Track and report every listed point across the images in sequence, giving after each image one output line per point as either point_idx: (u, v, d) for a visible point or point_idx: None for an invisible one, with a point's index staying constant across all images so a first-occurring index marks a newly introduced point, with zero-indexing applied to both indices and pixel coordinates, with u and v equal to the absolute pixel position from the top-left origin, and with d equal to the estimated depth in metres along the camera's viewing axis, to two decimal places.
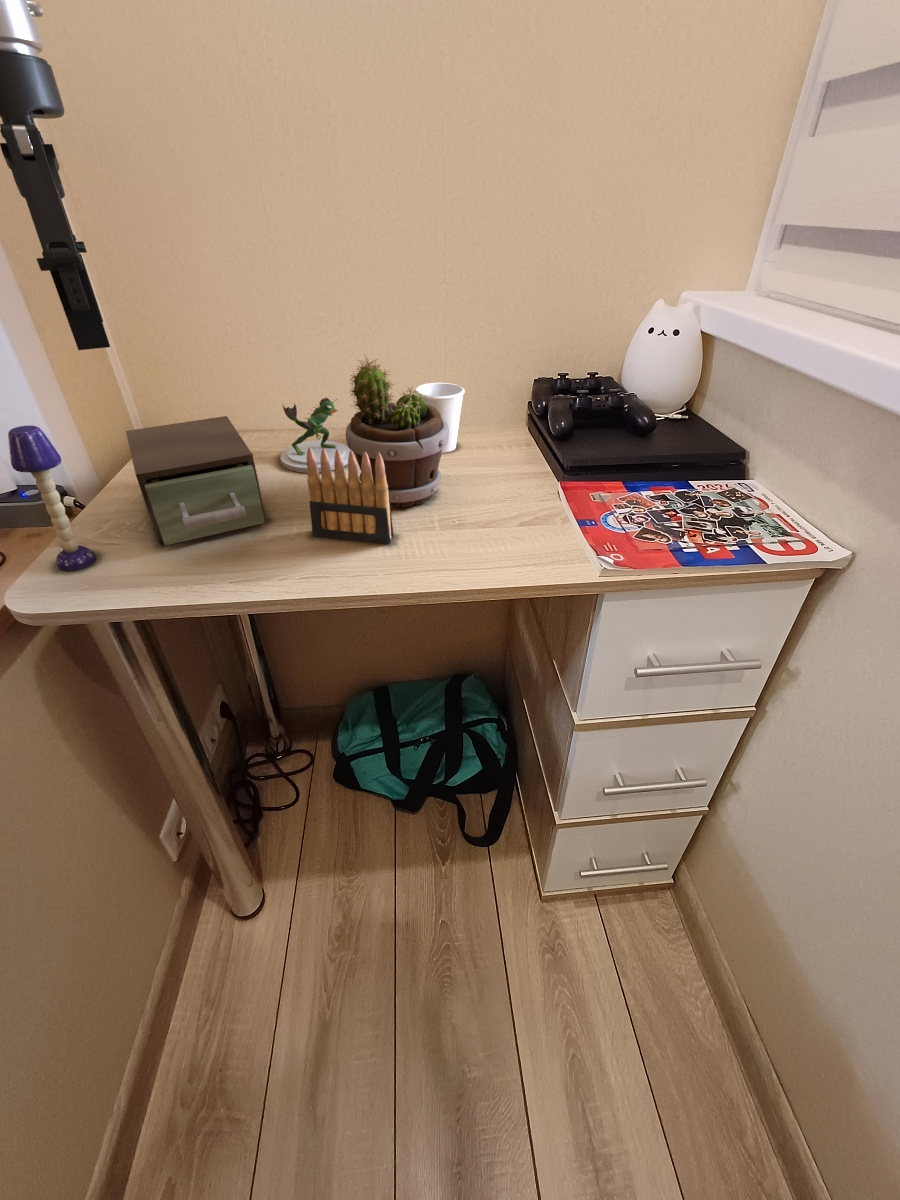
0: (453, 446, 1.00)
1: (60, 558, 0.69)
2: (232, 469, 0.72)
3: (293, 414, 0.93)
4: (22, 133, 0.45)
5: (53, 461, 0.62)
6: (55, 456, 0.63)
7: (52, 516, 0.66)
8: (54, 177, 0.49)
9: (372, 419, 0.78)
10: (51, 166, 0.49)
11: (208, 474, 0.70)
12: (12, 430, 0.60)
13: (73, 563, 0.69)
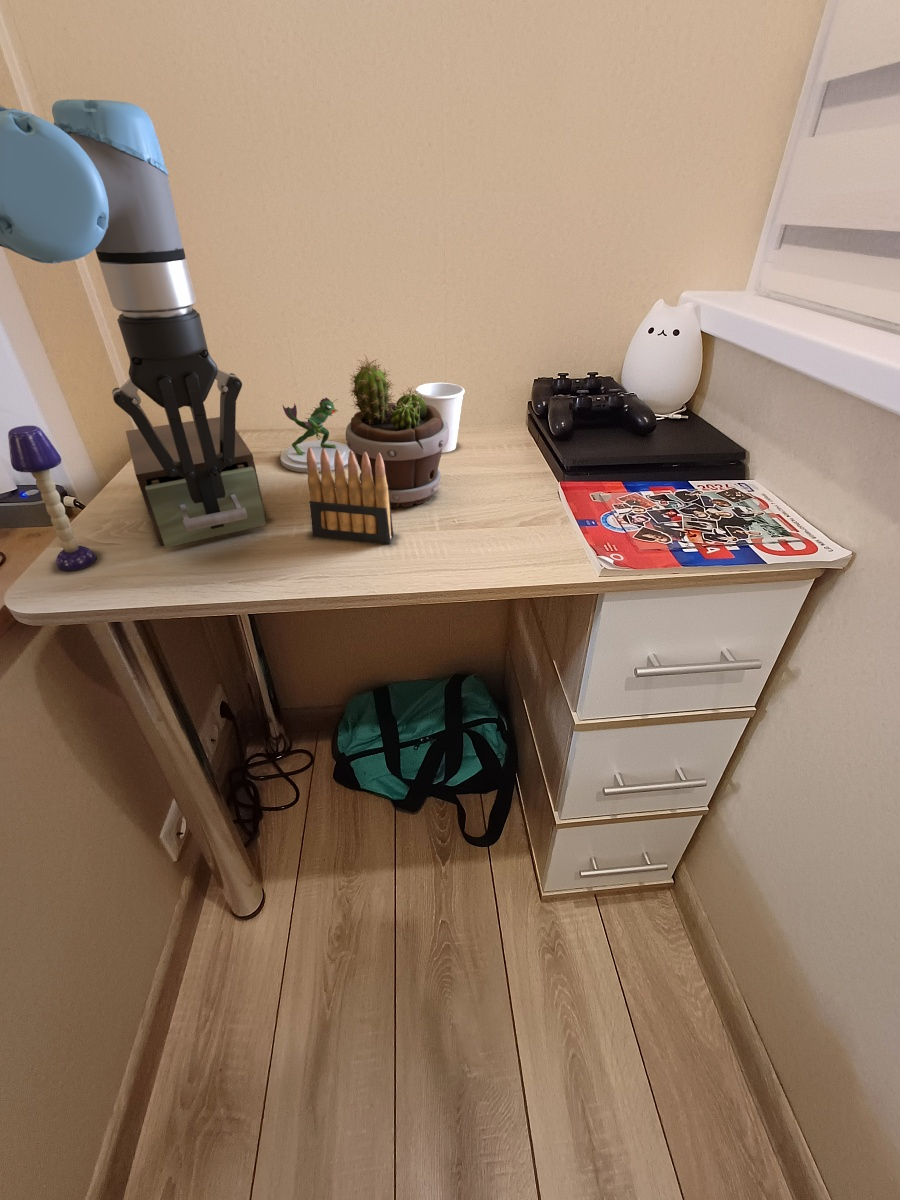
0: (453, 446, 1.00)
1: (60, 558, 0.69)
2: (233, 471, 0.71)
3: (293, 414, 0.93)
4: None
5: (53, 461, 0.62)
6: (55, 456, 0.63)
7: (52, 516, 0.66)
8: None
9: (372, 419, 0.78)
10: None
11: None
12: (12, 430, 0.60)
13: (73, 563, 0.69)
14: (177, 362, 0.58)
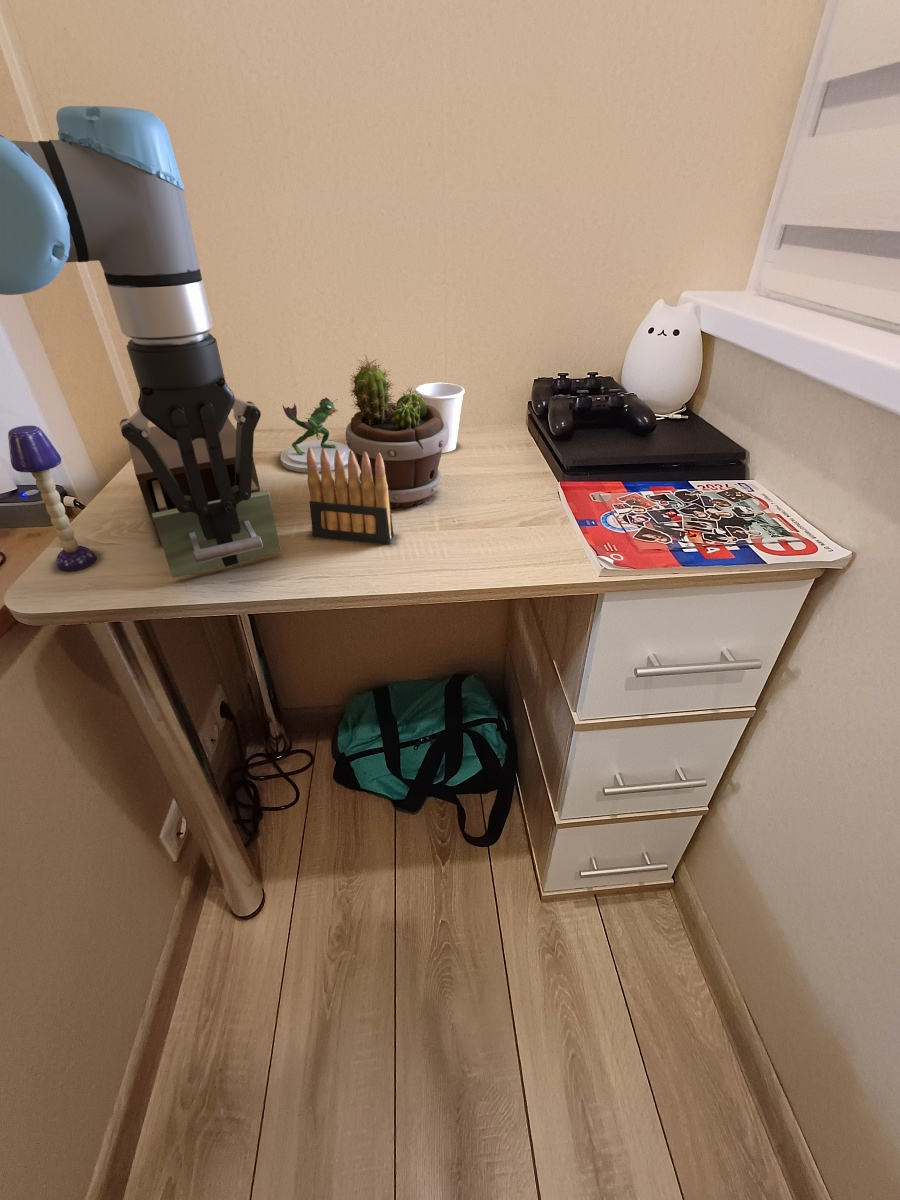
0: (453, 446, 1.00)
1: (60, 558, 0.69)
2: None
3: (293, 414, 0.93)
4: None
5: (53, 461, 0.62)
6: (55, 456, 0.63)
7: (52, 516, 0.66)
8: None
9: (372, 419, 0.78)
10: None
11: None
12: (12, 430, 0.60)
13: (73, 563, 0.69)
14: (191, 392, 0.53)
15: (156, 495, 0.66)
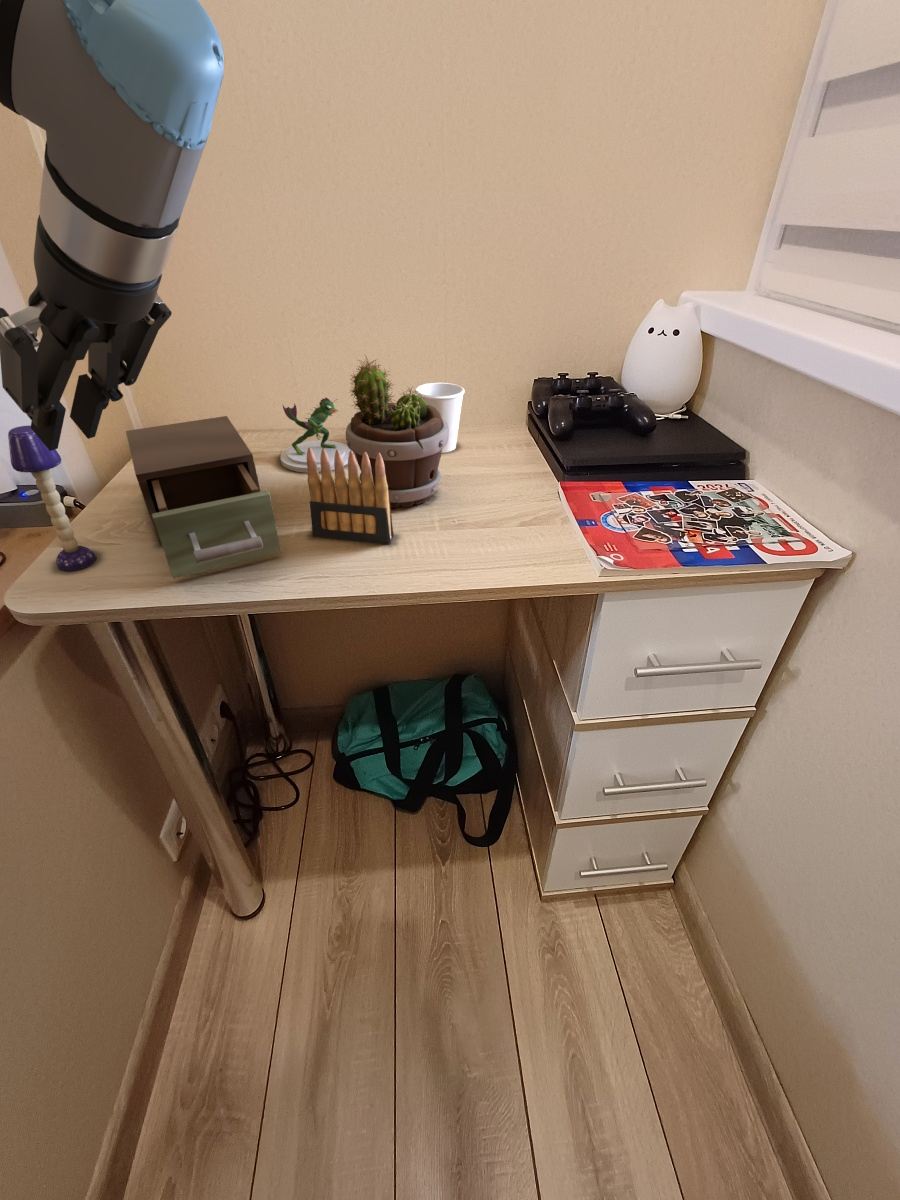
0: (453, 446, 1.00)
1: (60, 558, 0.69)
2: (247, 495, 0.66)
3: (293, 414, 0.93)
4: None
5: (53, 461, 0.62)
6: (55, 456, 0.63)
7: (52, 516, 0.66)
8: None
9: (372, 419, 0.78)
10: None
11: (221, 501, 0.64)
12: (12, 430, 0.60)
13: (73, 563, 0.69)
14: None
15: (156, 495, 0.66)
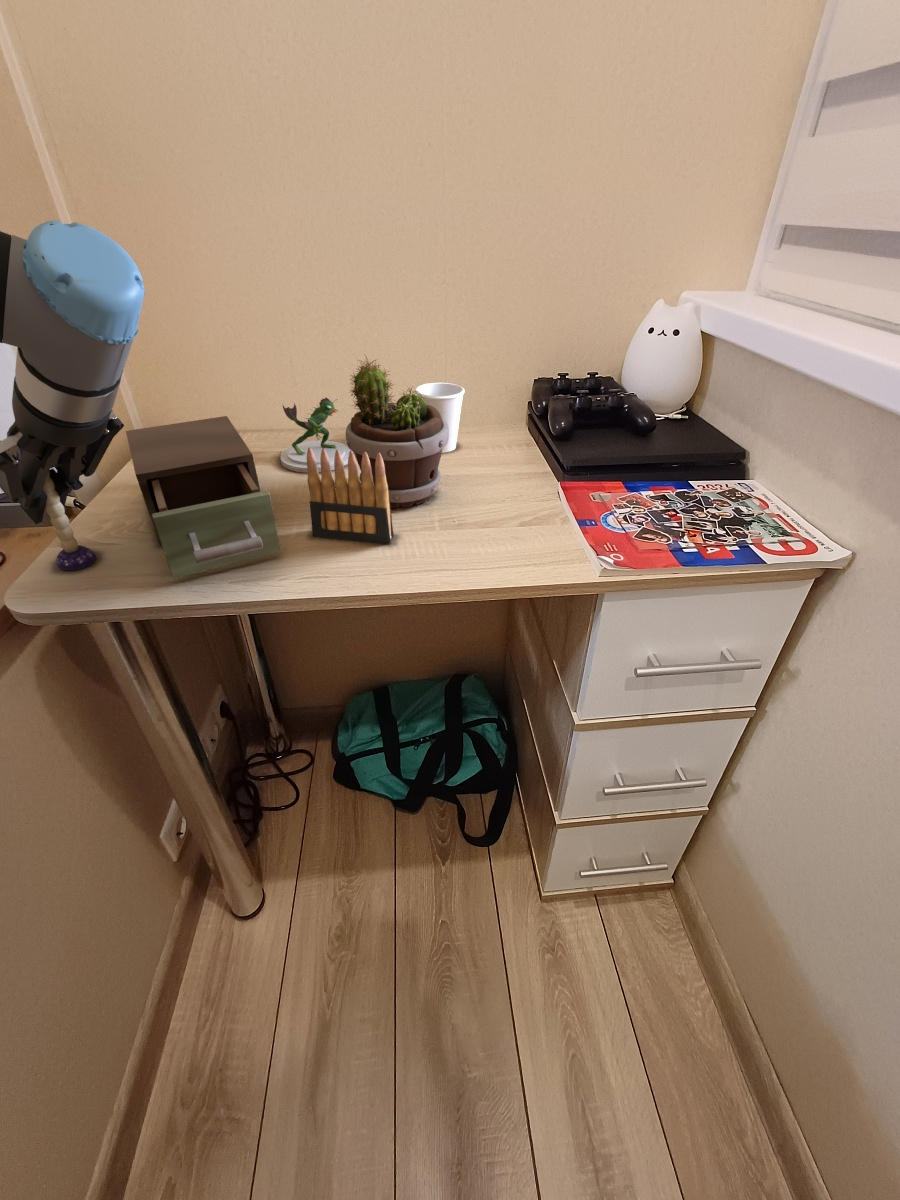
0: (453, 446, 1.00)
1: (60, 558, 0.69)
2: (247, 495, 0.66)
3: (293, 414, 0.93)
4: None
5: None
6: None
7: (51, 516, 0.66)
8: None
9: (372, 419, 0.78)
10: None
11: (221, 501, 0.64)
12: None
13: (73, 563, 0.69)
14: None
15: (156, 495, 0.66)
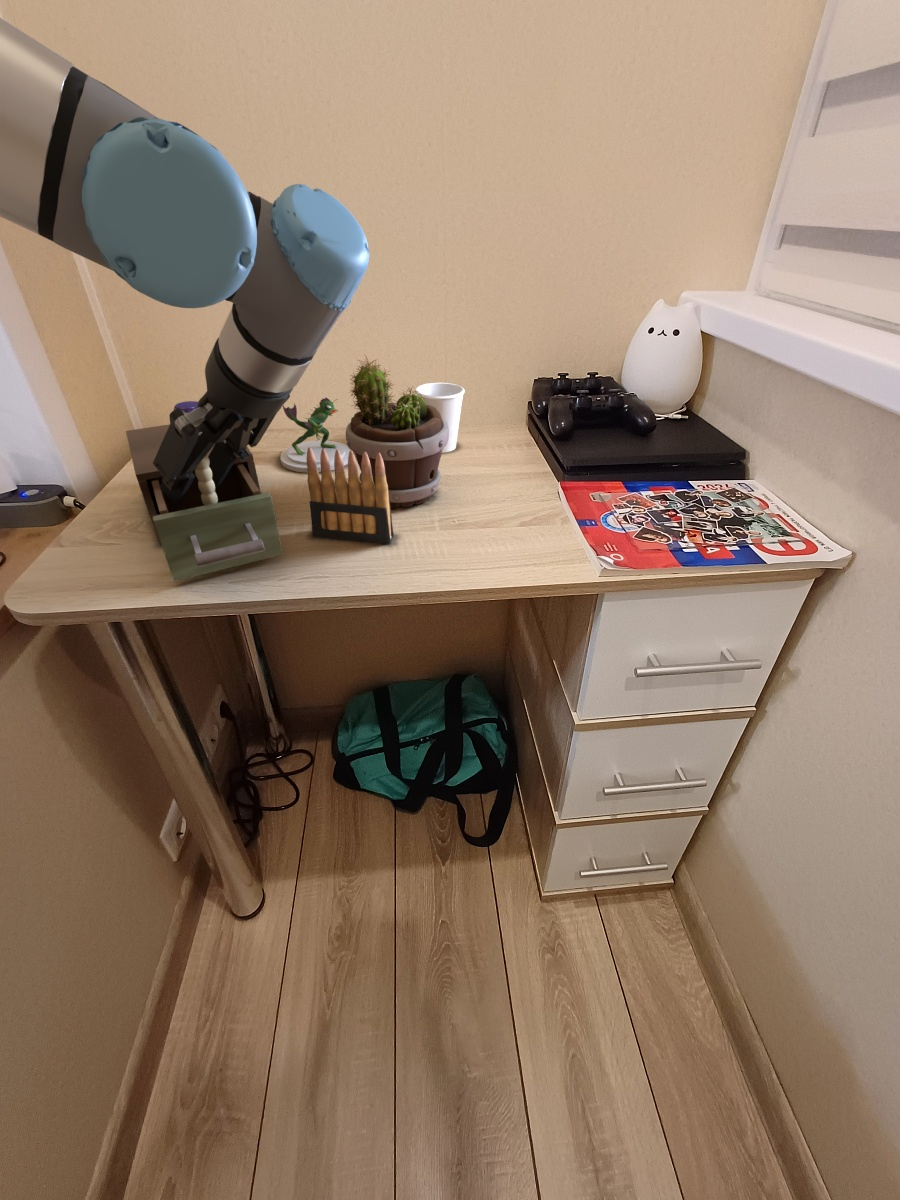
0: (453, 446, 1.00)
1: None
2: (248, 498, 0.65)
3: (293, 414, 0.93)
4: None
5: None
6: None
7: (203, 493, 0.67)
8: None
9: (372, 419, 0.78)
10: None
11: (222, 504, 0.64)
12: (178, 405, 0.61)
13: None
14: None
15: (157, 498, 0.66)
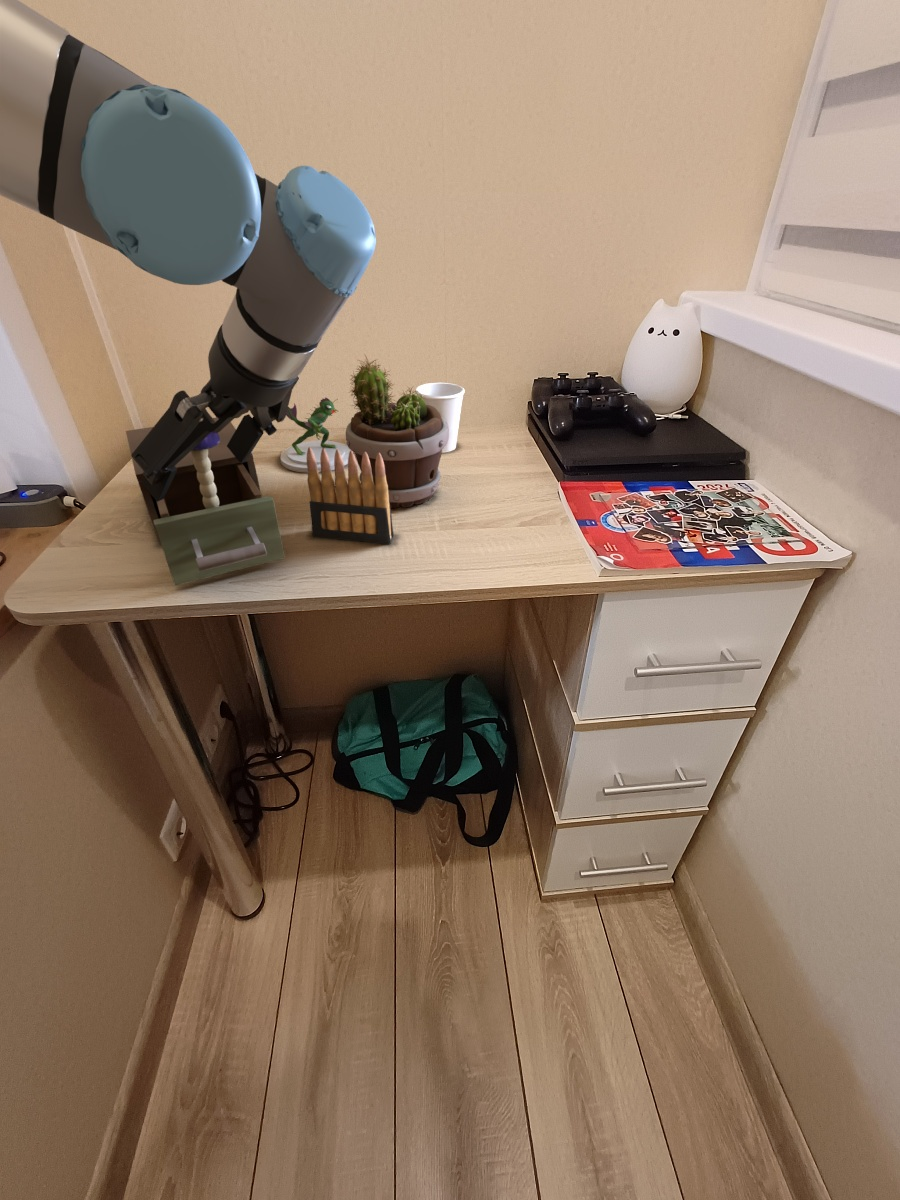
0: (453, 446, 1.00)
1: None
2: (250, 501, 0.65)
3: (293, 414, 0.93)
4: None
5: (215, 440, 0.62)
6: (216, 435, 0.62)
7: (204, 496, 0.66)
8: None
9: (372, 419, 0.78)
10: None
11: (224, 507, 0.63)
12: None
13: None
14: None
15: (158, 501, 0.65)
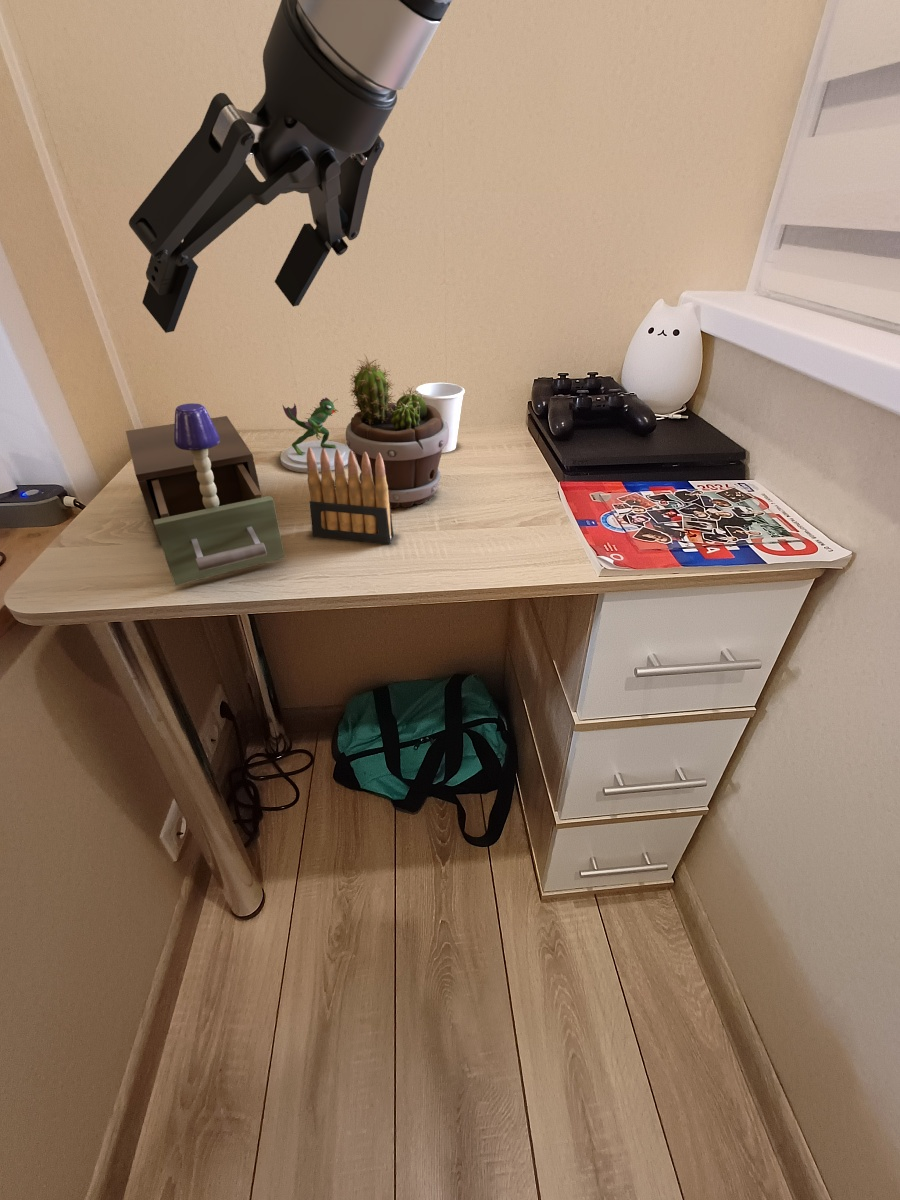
0: (453, 446, 1.00)
1: None
2: (250, 501, 0.65)
3: (293, 414, 0.93)
4: None
5: (215, 440, 0.62)
6: (216, 434, 0.62)
7: (204, 496, 0.66)
8: None
9: (372, 419, 0.78)
10: None
11: (224, 507, 0.63)
12: (179, 407, 0.60)
13: None
14: None
15: (158, 501, 0.65)
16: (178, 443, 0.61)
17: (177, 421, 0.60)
